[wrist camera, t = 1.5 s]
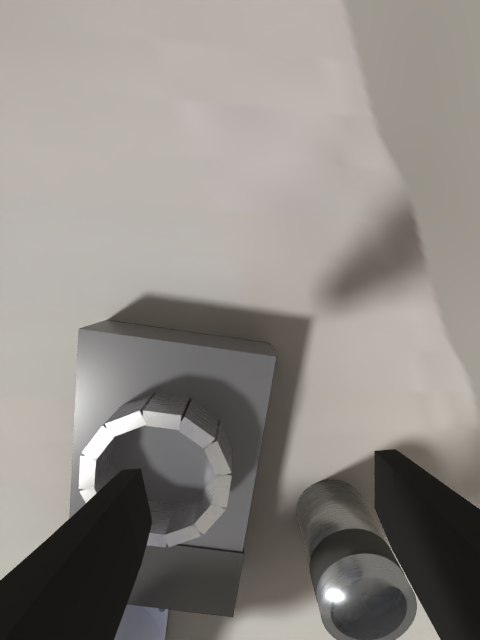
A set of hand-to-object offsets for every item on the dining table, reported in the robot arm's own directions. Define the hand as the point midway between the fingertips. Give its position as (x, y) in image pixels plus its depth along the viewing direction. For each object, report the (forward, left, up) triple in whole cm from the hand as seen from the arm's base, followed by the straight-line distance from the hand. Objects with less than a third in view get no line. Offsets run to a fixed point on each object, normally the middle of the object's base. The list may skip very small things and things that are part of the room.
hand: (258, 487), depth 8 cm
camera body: (-7, +4, -10) cm, 13 cm away
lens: (-10, -8, -10) cm, 16 cm away
